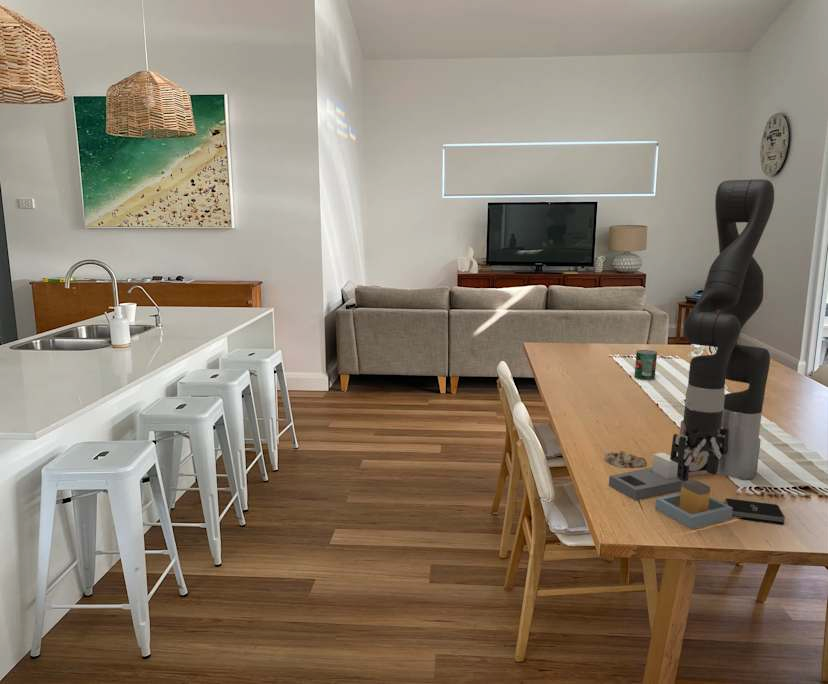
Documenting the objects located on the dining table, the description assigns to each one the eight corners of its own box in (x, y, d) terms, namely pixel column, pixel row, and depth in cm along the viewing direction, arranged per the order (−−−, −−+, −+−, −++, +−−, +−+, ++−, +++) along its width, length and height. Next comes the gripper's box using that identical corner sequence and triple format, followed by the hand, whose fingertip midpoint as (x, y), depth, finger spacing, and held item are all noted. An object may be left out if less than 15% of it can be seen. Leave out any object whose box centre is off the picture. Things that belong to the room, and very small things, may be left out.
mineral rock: (603, 460, 167) (606, 442, 174) (602, 473, 169) (605, 455, 176) (647, 467, 164) (648, 449, 170) (645, 481, 166) (647, 462, 172)
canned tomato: (630, 376, 263) (632, 350, 261) (646, 375, 265) (648, 349, 263) (642, 381, 256) (644, 354, 253) (659, 380, 258) (661, 353, 256)
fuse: (660, 479, 160) (662, 452, 158) (675, 486, 155) (678, 459, 154) (651, 481, 158) (653, 454, 157) (666, 488, 154) (669, 461, 152)
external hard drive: (784, 526, 138) (785, 518, 137) (727, 519, 141) (728, 510, 140) (776, 512, 144) (777, 504, 144) (722, 505, 147) (723, 497, 147)
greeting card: (677, 480, 160) (683, 423, 157) (658, 469, 167) (663, 413, 164) (715, 475, 163) (721, 419, 160) (695, 464, 170) (701, 410, 167)
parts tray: (694, 501, 148) (695, 489, 148) (731, 520, 139) (732, 507, 139) (654, 510, 143) (655, 498, 143) (690, 530, 135) (691, 517, 134)
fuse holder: (658, 477, 162) (659, 465, 161) (686, 491, 154) (688, 479, 153) (608, 487, 156) (609, 475, 155) (635, 502, 148) (636, 490, 147)
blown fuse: (688, 507, 144) (691, 478, 143) (707, 517, 140) (710, 486, 138) (678, 509, 143) (681, 480, 142) (697, 519, 139) (700, 489, 137)
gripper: (713, 396, 143) (706, 465, 146) (665, 404, 137) (659, 475, 140) (743, 406, 136) (735, 477, 139) (693, 414, 130) (686, 489, 134)
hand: (697, 476), depth 140 cm, fingers open, 8 cm apart
